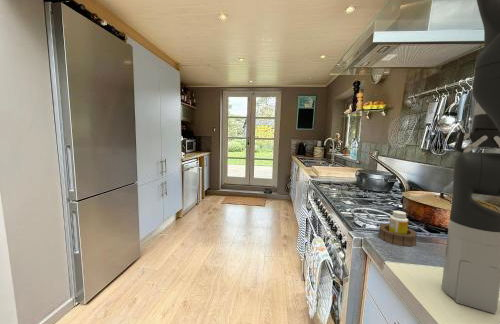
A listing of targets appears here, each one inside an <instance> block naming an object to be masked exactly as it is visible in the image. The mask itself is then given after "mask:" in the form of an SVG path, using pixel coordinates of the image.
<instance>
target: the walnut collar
mask: <svg viewBox="0 0 500 324" xmlns="http://www.w3.org/2000/svg"><path fill="white" fill-rule="evenodd" d="M389 224H390V223H389ZM389 224H387V223H384V224H380V225H379V228H378V238H380V239H381V240H383V241H384V242H387V243H389V244H391V245H392V244H393V245H396V246H401V247H414V246H416V244H417V238H418V237H417V236H418V235H417V231H415V230H412V229H410V228H408V229H407V235H404V234H397V233H393V232H390V231H389Z"/></svg>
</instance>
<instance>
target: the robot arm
mask: <svg viewBox="0 0 500 324" xmlns="http://www.w3.org/2000/svg"><path fill="white" fill-rule="evenodd" d="M476 3H477V6H478V13H479V16H480V18H481V22H482V25H483V30H484V34H483V35H484V37H483V38H484V39H483V40H484V42H483V44H484V45H483V46H484V47H483V48H484V49H483V50H481V52H480V53H478V55H477V56H476V58H475V66H474V72H473V81H472V82H473V83H472V89H471V90H472V96H473V98H474V100H475V101H476V105H475V107H474V112H473V120H472V126H471V132H470V133H467V132H464V131H463V132H458V133H457V135H456V138H455V143H454V146H453V151H454V152H457V153H459V154H458V155H457V157H456V158H455V161H454V165H453V179H452V180H453V183H452V196H451V197H452V200H451V206H450V207H451V208H450V213H449V223H448V229H447V237H446V245H445V253H444V262H443V270H442V279H441V289H442V291H443V292H444V293H445V294H447V296H449V297H450V298H452V299H453V300H454V301H455V302H456V303H457V304H460V305H464V306H467V307H470V308H475V309H476V310H480V311H484V312H488V313H490V314H494V315H495V314H496V310H497V309H498V306H499V305H498V304H499V299H500V212H498V211H497V210H493V209H491V208H488V207H486V206H484V205H482V204H481V203H479V202H477V201H475V199H474V198H473V197H472V195H482V196H489V197H490V196H491V197H498V198H500V0H476ZM467 138H468V139H469V140H470V141H471V142H470V143H469V144H467V145H466V147H463V143H464V141H465V140H467ZM476 148H479V149H481V148H483V149H484V148H486V149H495V150H496V151H497V153H496V152H472V150H474V149H476Z"/></svg>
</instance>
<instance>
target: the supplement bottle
mask: <svg viewBox="0 0 500 324" xmlns="http://www.w3.org/2000/svg"><path fill="white" fill-rule="evenodd" d="M408 227H409V218H407V213H406V212H405V211H403V210H402V211H401V210H393V211H392V214H391V215H390V216H389V231H390V232H393V233H397V234H404V235H407V229H408Z"/></svg>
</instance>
